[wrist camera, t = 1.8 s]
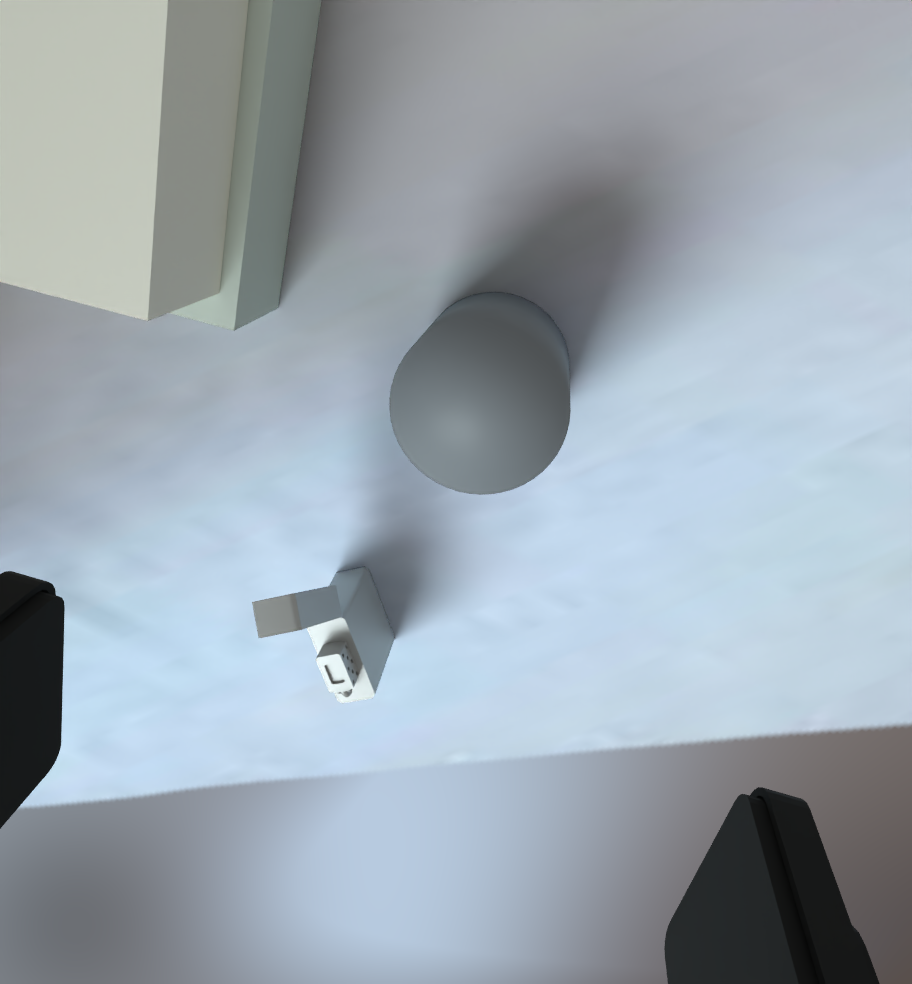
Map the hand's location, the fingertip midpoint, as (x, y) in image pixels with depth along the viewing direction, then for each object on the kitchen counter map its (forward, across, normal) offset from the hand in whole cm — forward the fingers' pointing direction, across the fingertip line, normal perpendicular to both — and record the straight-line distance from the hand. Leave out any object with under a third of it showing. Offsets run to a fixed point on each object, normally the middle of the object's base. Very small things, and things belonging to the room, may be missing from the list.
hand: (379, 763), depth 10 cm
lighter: (+22, +4, +12) cm, 26 cm away
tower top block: (+18, +15, -6) cm, 24 cm away
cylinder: (+22, 0, 0) cm, 23 cm away
